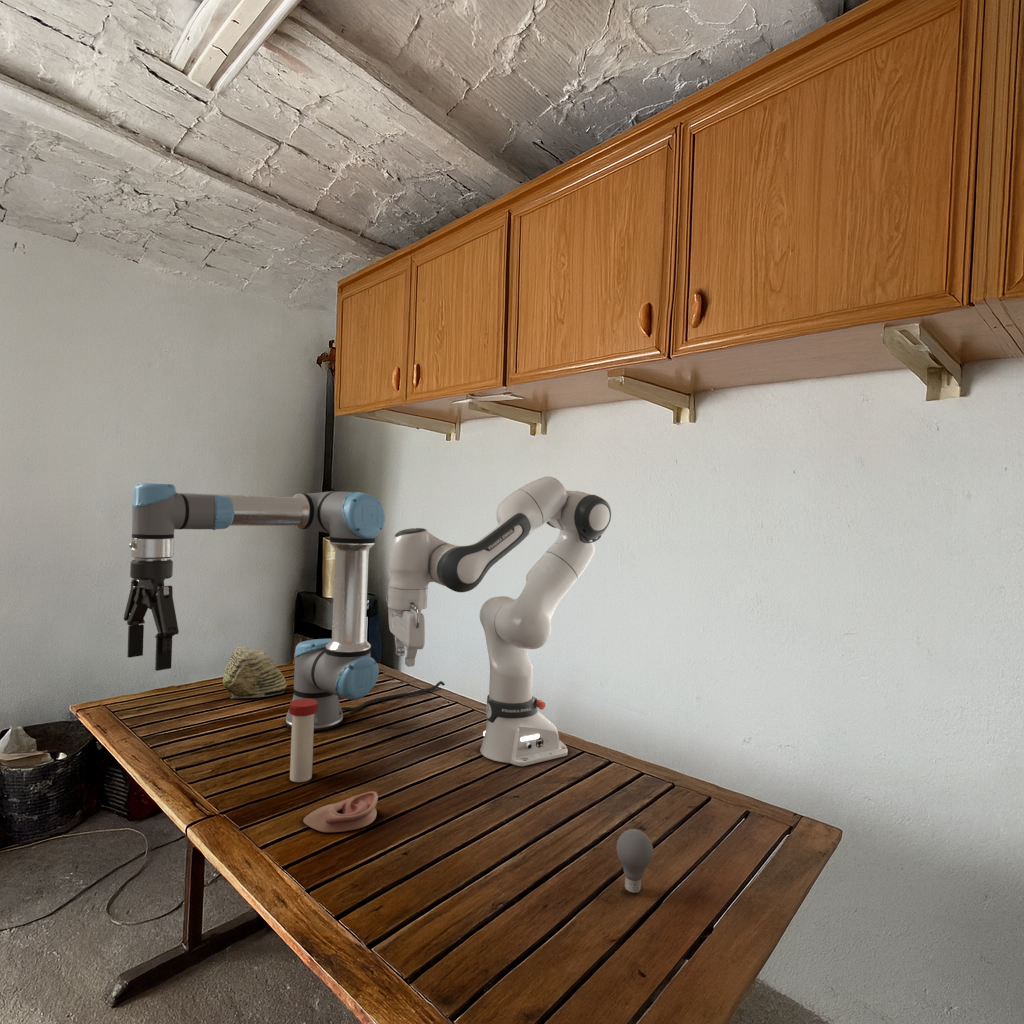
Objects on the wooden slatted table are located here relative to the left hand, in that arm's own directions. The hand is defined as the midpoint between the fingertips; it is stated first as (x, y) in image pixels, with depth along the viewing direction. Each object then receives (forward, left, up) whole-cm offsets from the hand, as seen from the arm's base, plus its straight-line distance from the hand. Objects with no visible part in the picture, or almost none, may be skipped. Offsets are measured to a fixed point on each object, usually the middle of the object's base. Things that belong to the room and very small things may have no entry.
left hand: (148, 662), depth 129 cm
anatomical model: (-22, +36, -28) cm, 51 cm away
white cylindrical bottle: (-27, +14, -28) cm, 42 cm away
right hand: (-42, +30, -1) cm, 52 cm away
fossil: (-50, -47, -28) cm, 74 cm away
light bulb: (-41, +90, -28) cm, 103 cm away
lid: (-27, +14, -11) cm, 33 cm away
